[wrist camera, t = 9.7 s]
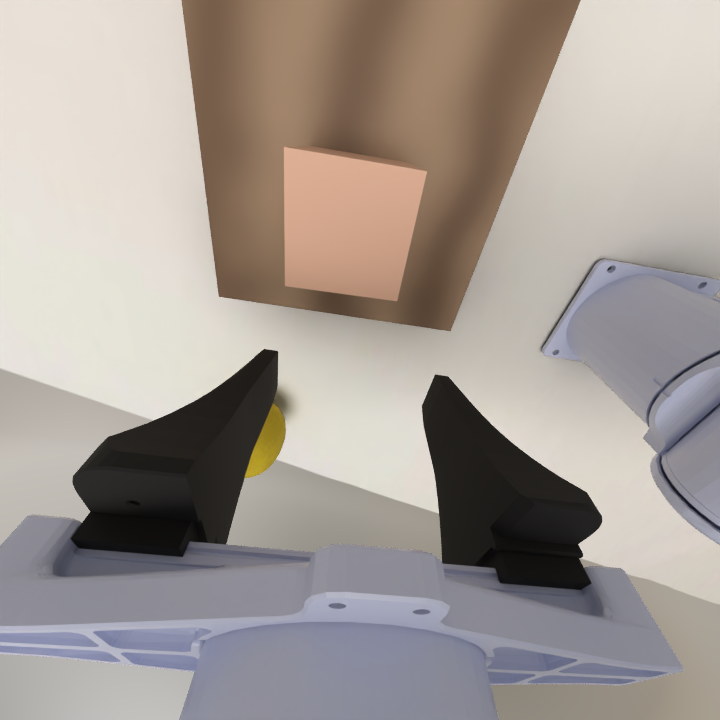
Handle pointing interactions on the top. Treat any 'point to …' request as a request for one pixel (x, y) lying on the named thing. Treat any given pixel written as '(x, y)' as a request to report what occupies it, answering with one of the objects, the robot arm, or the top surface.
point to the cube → (348, 221)
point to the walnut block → (366, 126)
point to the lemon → (267, 443)
